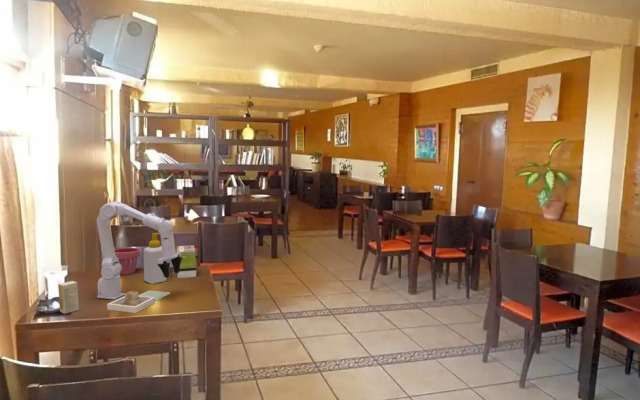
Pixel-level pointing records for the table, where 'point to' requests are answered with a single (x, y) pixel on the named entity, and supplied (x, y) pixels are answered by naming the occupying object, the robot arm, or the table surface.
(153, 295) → the sage tile
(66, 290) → the skincare box
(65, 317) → the table surface
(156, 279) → the soap bottle
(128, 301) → the birch block
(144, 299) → the white bin
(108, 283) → the robot arm
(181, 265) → the tea box
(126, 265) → the plant pot
